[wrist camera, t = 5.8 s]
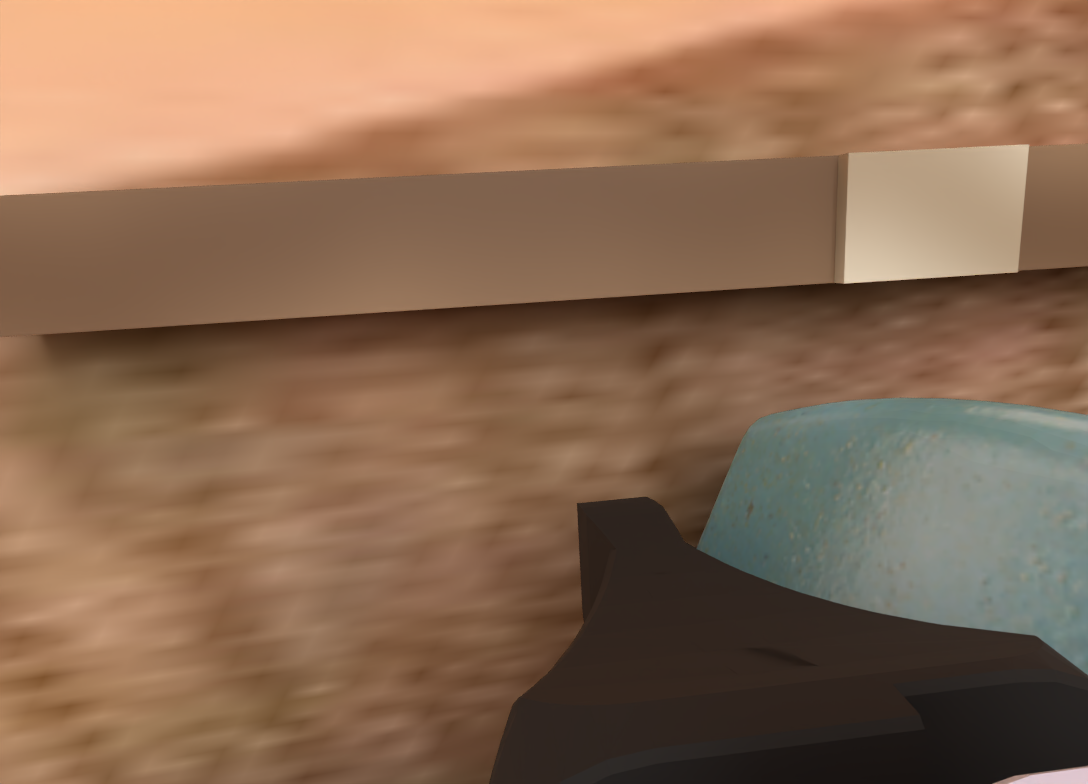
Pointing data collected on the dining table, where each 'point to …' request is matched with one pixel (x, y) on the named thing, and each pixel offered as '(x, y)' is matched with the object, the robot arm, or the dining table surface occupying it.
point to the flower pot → (918, 512)
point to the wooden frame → (532, 236)
